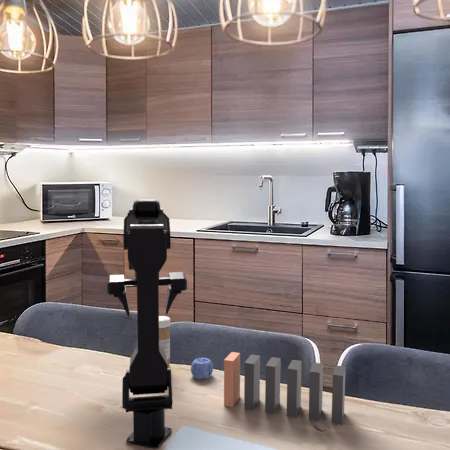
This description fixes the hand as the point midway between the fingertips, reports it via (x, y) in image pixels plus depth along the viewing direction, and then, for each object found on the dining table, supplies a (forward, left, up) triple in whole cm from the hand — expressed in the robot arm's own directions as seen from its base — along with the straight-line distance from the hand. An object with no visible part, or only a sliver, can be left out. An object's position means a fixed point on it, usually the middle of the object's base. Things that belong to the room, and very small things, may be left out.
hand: (147, 314), depth 118 cm
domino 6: (-8, -47, -15) cm, 50 cm away
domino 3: (-8, -34, -15) cm, 38 cm away
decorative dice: (+2, -14, -15) cm, 20 cm away
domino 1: (-8, -25, -15) cm, 30 cm away
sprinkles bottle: (+2, -3, -15) cm, 15 cm away
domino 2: (-8, -29, -15) cm, 34 cm away
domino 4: (-8, -38, -15) cm, 42 cm away
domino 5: (-8, -43, -15) cm, 46 cm away
